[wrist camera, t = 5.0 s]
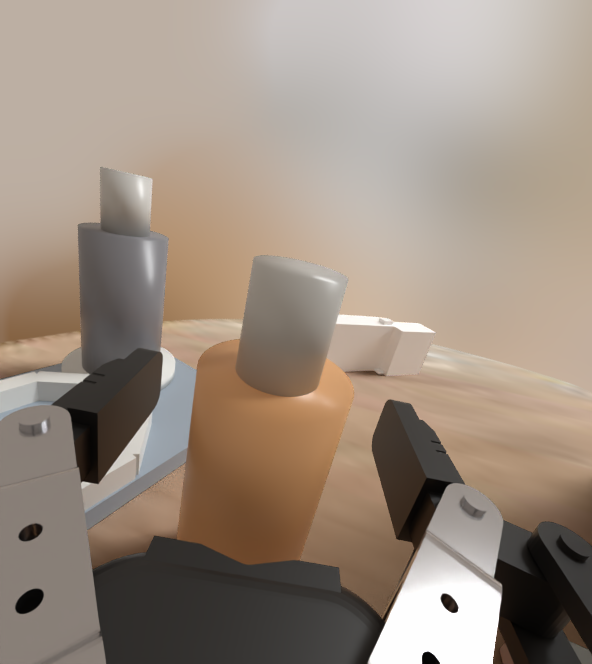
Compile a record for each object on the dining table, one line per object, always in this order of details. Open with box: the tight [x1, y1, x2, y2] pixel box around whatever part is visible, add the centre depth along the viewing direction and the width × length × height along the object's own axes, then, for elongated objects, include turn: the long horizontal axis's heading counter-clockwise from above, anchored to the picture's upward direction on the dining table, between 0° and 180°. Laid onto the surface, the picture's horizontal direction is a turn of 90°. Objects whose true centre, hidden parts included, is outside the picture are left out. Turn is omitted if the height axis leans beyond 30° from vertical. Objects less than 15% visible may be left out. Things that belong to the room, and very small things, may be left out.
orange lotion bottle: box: [177, 255, 354, 565], centre depth 10 cm, size 4×4×12 cm
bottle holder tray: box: [0, 167, 197, 530], centre depth 15 cm, size 16×11×13 cm
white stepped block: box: [327, 315, 436, 376], centre depth 31 cm, size 15×11×6 cm
